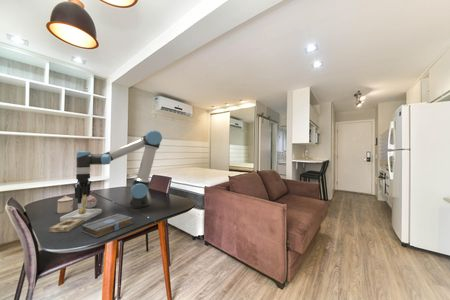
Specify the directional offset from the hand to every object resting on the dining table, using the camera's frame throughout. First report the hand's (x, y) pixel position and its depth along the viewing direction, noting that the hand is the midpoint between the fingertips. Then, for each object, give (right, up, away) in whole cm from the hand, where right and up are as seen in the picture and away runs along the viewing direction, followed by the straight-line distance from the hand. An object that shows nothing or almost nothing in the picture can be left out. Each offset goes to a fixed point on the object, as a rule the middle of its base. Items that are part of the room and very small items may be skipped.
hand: (82, 206), depth 120 cm
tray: (0, -7, 0) cm, 7 cm away
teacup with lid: (-23, -7, +11) cm, 26 cm away
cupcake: (-10, -7, +20) cm, 24 cm away
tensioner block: (+4, -7, -16) cm, 18 cm away
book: (+28, -8, -15) cm, 33 cm away
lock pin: (0, -5, 0) cm, 5 cm away
